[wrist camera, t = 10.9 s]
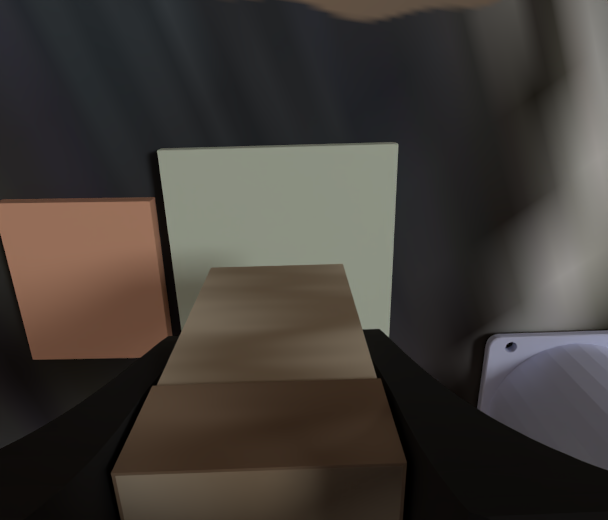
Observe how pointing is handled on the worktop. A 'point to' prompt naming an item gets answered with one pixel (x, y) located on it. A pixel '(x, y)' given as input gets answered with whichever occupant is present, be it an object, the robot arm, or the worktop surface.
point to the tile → (87, 275)
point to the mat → (284, 214)
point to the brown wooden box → (266, 409)
